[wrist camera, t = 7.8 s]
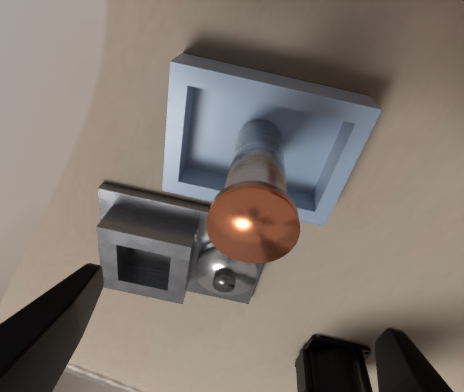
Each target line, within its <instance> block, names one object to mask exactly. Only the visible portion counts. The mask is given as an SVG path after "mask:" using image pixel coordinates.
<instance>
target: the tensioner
mask: <svg viewBox="0 0 464 392" xmlns="http://www.w3.org/2000/svg"><path fill="white" fill-rule="evenodd" d="M98 195H99V206H100V217H101V221H100V223H99V224H98V225H97V227H96V228H97V238H98V247H99V257H100V266H101V267H102V269H103V279H104V285H103V287H105V288H110V289H114V290H119V291H124V292H128V293H133V294H138V295H142V296H147V297H152V298H156V299H161V300H165V301H170V302H175V303H179V304H183V301H184V297H185V294H186V291H191V292H195V293H200V294H205V295H209V296H214V297H219V298H223V299H228V300H232V301H237V302H242V303H246V304H249V301H250V299H251V296H252V293H253V291H254V288H255V285H256V283H257V280H258V277H259V275H260V272H261V269H262V267H263V264H264V263H245V262H240V261H237V260H234V259H232V258H229V257H227V256H226V255H224V254H223V253H221V252H220V251H219V250H218V249H217V248H216V247H215V246H214V245H213V244H212V242H211V241H210V239H209V237H208V234H207V230H206V222H207V217H208V214H209V210H210V206H206V205H201V204H197V203H192V202H188V201H183V200H179V199H174V198H170V197H165V196H161V195H156V194H152V193H147V192H143V191H138V190H133V189H129V188H124V187H120V186H115V185H111V184H106V183H102V184H101V185H100V186H99V188H98Z"/></svg>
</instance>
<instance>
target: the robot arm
mask: <svg viewBox="0 0 464 392" xmlns="http://www.w3.org/2000/svg"><path fill="white" fill-rule="evenodd" d="M103 285H104V279H103V269H102V267H101V266H100V265H96V264H91V263H88V264H86V265H84V266H83V267H81V268H80V269H78V270H77V271H76V272H74V273H73V274H71V275H70V276H68V277H67V278H66V279H64V280H63V281H61V282H60V283H58V284H57V285H56V286H54V287H53V288H51V289H50V290H48V291H47V292H45V293H44V294H43V295H41V296H40V297H38V298H37V299H35V300H34V301H33V302H31V303H30V304H28V305H27V306H25V307H24V308H23V309H21V310H20V311H18V312H17V313H15V314H14V315H13V316H11V317H10V318H8V319H7V320H5V321H4V322H2V323H1V324H0V392H52V391H53V389H54V387H55V385H56V384H57V382H58V380H59V378H60V376H61V375H62V373H63V371H64V369H65V367H66V366H67V364H68V362H69V360H70V358H71V357H72V355H73V353H74V351H75V349H76V348H77V346H78V344H79V342H80V340H81V338H82V336H83V334H84V331H85V329H86V327H87V324H88V322H89V320H90V317H91V315H92V313H93V310H94V308H95V305H96V303H97V301H98V298H99V296H100V294H101V291H102V289H103ZM370 355H371V349H370V348H369V347H365V346H360V345H356V344H351V343H346V342H342V341H337V340H332V339H328V338H323V337H318V336H313V337H311V339H310V340H309V342H308V343H307V345H306V346H305V348H304V349H303V350H302V351H301V353H300V354H299V356H298V357H297V359H296V362H295V367H296V373H297V389H298V392H373V391H372V387H371V383H370V379H369V375H368V371H367V367H366V363H365V360H366V359H367V358H368V357H369V356H370ZM375 357H376V367H377V377H378V388H379V392H453V391H452V389H451V388H450V387H449V386H448V385H447V383H446V382H445V381H444V380H443V378H442V377H441V376H440V375H439V374H438V372H437V371H436V370H435V369H434V368H433V366H432V365H431V364H430V363H429V361H428V360H427V359H426V358H425V357H424V355H423V354H422V353H421V352H420V351H419V349H418V348H417V347H416V346H415V344H414V343H413V342H412V341H411V340H410V338H409V337H408V336H407V335H406V334H405V333H404V332H403V331H402V330H399V329H395V328H387V329H386V330H385V331H384V332H383V333H382V334H381V335H380V337H379V338H378V339H377V340H376V342H375Z"/></svg>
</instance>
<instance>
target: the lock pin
mask: <svg viewBox="0 0 464 392" xmlns="http://www.w3.org/2000/svg"><path fill="white" fill-rule="evenodd" d="M206 230H207V234H208V237H209V239H210V241H211V242H212V244H213V245H214V246H215V247H216V248H217V249H218V250H219V251H220V252H221V253H223V254H224V255H226V256H227V257H229V258H232V259H234V260H237V261H240V262H245V263H266V262H271V261H274V260H277V259H279V258H281V257H283V256H284V255H286V254H287V253H289V252H290V251H291V250H292V249H293V247H294V246H295V245H296V243H297V241H298V238H299V234H300V223H299V215H298V210H297V207H296V204H295V203H294V201H293V199H292V198H291V197H290V196H289V195H288V194H287V188H286V175H285V162H284V149H283V137H282V134H281V131H280V130H279V128H278V127H277V126H276V125H275V124H274V123H272V122H270V121H268V120H263V119H256V120H252V121H249V122H247V123H246V124H244V125H243V126H242V127H241V129H240V130H239V132H238V134H237V138H236V142H235V146H234V151H233V155H232V159H231V163H230V167H229V171H228V176H227V180H226V184H225V188H224V189H223V190H222V191H220V192H219V193H218V194H217V195H216V197H215V198H214V200H213V202H212V204H211V207H210V210H209V214H208V217H207V222H206Z"/></svg>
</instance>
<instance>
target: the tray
mask: <svg viewBox="0 0 464 392" xmlns="http://www.w3.org/2000/svg"><path fill="white" fill-rule="evenodd" d="M381 111H382V109H381V108H380V107H379V106H378V105H377V104H376V103H375V101H374V100H373V99H372V98H371V97H370V96H368V95H364V94H359V93H355V92H351V91H346V90H342V89H337V88H333V87H329V86H324V85H320V84H316V83H311V82H307V81H303V80H298V79H294V78H289V77H285V76H281V75H276V74H272V73H268V72H263V71H259V70H255V69H250V68H246V67H242V66H237V65H233V64H228V63H224V62H220V61H215V60H211V59H207V58H202V57H198V56H194V55H189V54H185V53H182V54H180V55H179V56H177V57H176V58H175V59H173V60H172V61H170V75H169V91H168V107H167V123H166V139H165V155H164V170H163V186H162V191H167V192H171V193H176V194H180V195H185V196H189V197H194V198H198V199H203V200H207V201H212V202H213V200H214V198H215V197H216V195H217V194H218V193H219V192H220V191H222V190H223V189H224V188H225V184H226V180H227V176H228V171H229V167H230V163H231V159H232V155H233V151H234V146H235V142H236V138H237V134H238V132H239V130H240V129H241V127H242V126H243V125H244V124H246V123H247V122H249V121H252V120H256V119H263V120H268V121H270V122H272V123H274V124H275V125H276V126H277V127H278V128H279V130H280V131H281V134H282V137H283V149H284V162H285V175H286V188H287V194H288V195H289V196H290V197H291V198H292V199H293V201H294V203H295V204H296V207H297V210H298V215H299V221H302V222H307V223H311V224H316V225H320V226H325V224H326V222H327V220H328V218H329V216H330V214H331V212H332V210H333V208H334V206H335V204H336V202H337V200H338V198H339V196H340V194H341V192H342V190H343V188H344V186H345V184H346V182H347V180H348V178H349V176H350V174H351V172H352V170H353V168H354V166H355V164H356V162H357V159H358V157H359V155H360V153H361V151H362V149H363V147H364V145H365V143H366V141H367V139H368V137H369V135H370V133H371V131H372V129H373V127H374V125H375V123H376V121H377V119H378V117H379V115H380V113H381Z"/></svg>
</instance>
